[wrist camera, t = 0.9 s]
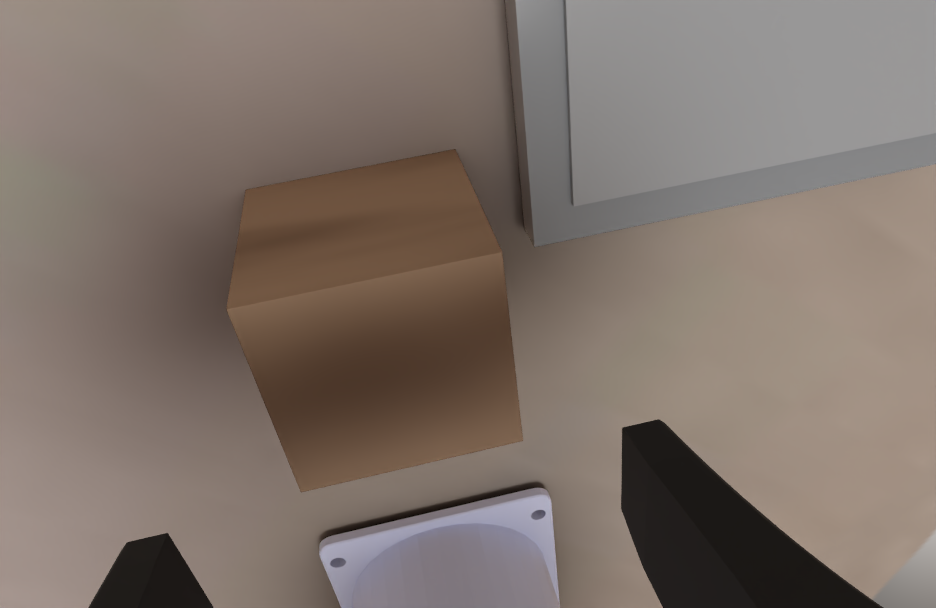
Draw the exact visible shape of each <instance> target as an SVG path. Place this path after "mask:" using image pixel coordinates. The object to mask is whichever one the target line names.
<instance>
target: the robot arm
mask: <svg viewBox="0 0 936 608" xmlns="http://www.w3.org/2000/svg"><path fill="white" fill-rule="evenodd" d="M621 509H622V512H623V515H624V517H625V520H626V523H627V526H628V528H629V531H630V534H631V537H632V539H633V542H634V545H635V547H636V550H637V552H638V555H639V558H640V560H641V563H642V565H643V568H644V570H645V572H646V574H647V576H648V578H649V580H650V582H651V584H652V586H653V588H654V590H655V592H656V594H657V596H658V598H659V600H660V602H661V604H662V606H663V608H883V607H882V606H880V605H879V604H877V603H876V602H874V601H873V600H871V599H870V598H869V597H867V596H866V595H864V594H863V593H862V592H860V591H859V590H858V589H856V588H855V587H853V586H852V585H851V584H849V583H848V582H847V581H845V580H844V579H843V578H841V577H840V576H839V575H837V574H836V573H835V572H833V571H832V570H831V569H829V568H828V567H827V566H826V565H824V564H823V563H822V562H820V561H819V560H818V559H817V558H815V557H814V556H813V555H811V554H810V553H809V552H808V551H806V550H805V549H804V548H803V547H801V546H800V545H799V544H798V543H796V542H795V541H794V540H793V539H791V538H790V537H789V536H788V535H787V534H785V533H784V532H783V531H782V530H780V529H779V528H778V527H777V526H776V525H775V524H773V523H772V522H771V521H770V520H769V519H768V518H766V517H765V516H764V515H763V514H762V513H761V512H759V511H758V510H757V509H756V508H755V507H754V506H752V505H751V504H750V503H749V502H748V501H747V500H746V499H744V498H743V497H742V496H741V495H740V494H739V493H738V492H736V491H735V490H734V489H733V488H732V487H731V486H730V485H729V484H728V483H726V482H725V481H724V480H723V479H722V478H721V477H720V476H719V475H718V474H717V473H716V472H715V471H714V470H712V469H711V468H710V467H709V466H708V465H707V464H706V463H705V462H704V461H703V460H702V459H701V458H700V457H699V456H698V455H697V454H696V453H695V452H693V451H692V450H691V449H690V448H689V447H688V446H687V445H686V444H685V443H684V442H683V441H682V440H681V439H680V438H679V437H678V436H677V435H676V434H675V433H674V432H673V431H672V430H671V429H670V428H669V427H668V426H667V425H666V424H665V423H664V422H662V421H661V420H659V419H658V420H654V421H650V422H645V423H641V424H637V425H632V426H628V427H624V428H622V495H621ZM319 554H320V558H321V561H322V563H323V565H324V568H325V570H326V573H327V575H328V577H329V580H330V582H331V585H332V587H333V589H334V592H335V594H336V597H337V599H338V601H339V604H340V606H341V608H560V603H559V590H558V578H557V566H556V553H555V541H554V529H553V517H552V504H551V499H550V496H549V494H548V491H547V490H545V489H543V488H532V489H528V490H523V491H519V492H515V493H511V494H506V495H502V496H498V497H494V498H489V499H485V500H481V501H477V502H472V503H468V504H464V505H460V506H456V507H451V508H447V509H443V510H439V511H434V512H430V513H426V514H422V515H417V516H413V517H409V518H405V519H400V520H396V521H392V522H388V523H384V524H379V525H375V526H371V527H367V528H362V529H358V530H354V531H350V532H345V533H341V534H337V535H333V536H329V537H327V538H325V539H324V540H322V541H321V543H320V545H319ZM89 608H213V606H212V604H211V603H210V601H209V599H208V598H207V596H206V594H205V593H204V591H203V590H202V588H201V586H200V585H199V583H198V581H197V580H196V578H195V577H194V575H193V573H192V572H191V570H190V568H189V567H188V565H187V564H186V562H185V560H184V559H183V557H182V555H181V554H180V552H179V551H178V549H177V547H176V546H175V544H174V542H173V541H172V539H171V538H170V536H169V534H168V533H165V534H161V535H157V536H152V537H148V538H144V539H139V540H135V541H131V542H127V543H126V545H125V546H124V547H123V549H122V551H121V552H120V554H119V556H118V557H117V559H116V561H115V563H114V564H113V566H112V568H111V569H110V571H109V573H108V575H107V576H106V578H105V580H104V582H103V583H102V585H101V587H100V589H99V590H98V592H97V594H96V596H95V597H94V599H93V601H92V602H91V604H90V606H89Z"/></svg>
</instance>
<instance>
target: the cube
mask: <svg viewBox="0 0 936 608" xmlns="http://www.w3.org/2000/svg"><path fill="white" fill-rule="evenodd" d="M226 310H227V312H228V315H229V317H230V320H231V322H232V325H233V327H234V330H235V332H236V334H237V337H238V339H239V342H240V344H241V347H242V349H243V352H244V354H245V357H246V359H247V361H248V364H249V366H250V369H251V371H252V374H253V376H254V379H255V381H256V383H257V386H258V388H259V391H260V393H261V396H262V398H263V401H264V403H265V406H266V408H267V410H268V413H269V415H270V418H271V420H272V423H273V425H274V428H275V430H276V432H277V435H278V437H279V440H280V442H281V445H282V447H283V450H284V452H285V455H286V457H287V459H288V462H289V464H290V467H291V469H292V472H293V474H294V477H295V479H296V481H297V484H298V486H299V489H300V491H301V492H305V491H309V490H313V489H318V488H322V487H326V486H331V485H335V484H339V483H343V482H348V481H352V480H356V479H361V478H365V477H369V476H374V475H378V474H382V473H387V472H391V471H395V470H399V469H404V468H408V467H412V466H417V465H421V464H425V463H430V462H434V461H438V460H443V459H447V458H451V457H455V456H460V455H464V454H468V453H473V452H477V451H481V450H486V449H490V448H494V447H499V446H503V445H507V444H511V443H516V442H520V441H523V436H522V427H521V418H520V409H519V400H518V391H517V382H516V373H515V364H514V355H513V346H512V337H511V328H510V319H509V310H508V301H507V292H506V283H505V273H504V264H503V255H502V251H501V248H500V246H499V244H498V242H497V240H496V237H495V235H494V233H493V231H492V229H491V226H490V224H489V222H488V220H487V218H486V215H485V213H484V211H483V209H482V207H481V204H480V202H479V200H478V198H477V196H476V194H475V191H474V189H473V187H472V185H471V183H470V180H469V178H468V176H467V174H466V172H465V169H464V167H463V165H462V163H461V161H460V158H459V156H458V154H457V152H456V150H455V149H453V150H448V151H443V152H438V153H432V154H427V155H422V156H417V157H412V158H407V159H401V160H396V161H391V162H386V163H381V164H376V165H371V166H365V167H360V168H355V169H350V170H345V171H340V172H334V173H329V174H324V175H319V176H314V177H309V178H304V179H298V180H293V181H288V182H283V183H278V184H273V185H268V186H262V187H257V188H252V189H247V190H246V192H245V198H244V204H243V210H242V216H241V222H240V229H239V235H238V241H237V247H236V253H235V259H234V265H233V272H232V278H231V284H230V290H229V296H228V302H227V308H226Z"/></svg>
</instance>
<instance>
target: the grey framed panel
mask: <svg viewBox="0 0 936 608" xmlns="http://www.w3.org/2000/svg"><path fill="white" fill-rule="evenodd" d="M505 8H506V19H507V31H508V43H509V54H510V66H511V77H512V89H513V101H514V112H515V124H516V136H517V147H518V159H519V171H520V182H521V194H522V206H523V217H524V228H525V230H526V232H527V234H528V236H529V238H530V240H531V242H532V243H533V245H534V247H538V246H543V245H548V244H552V243H557V242H562V241H567V240H572V239H577V238H581V237H586V236H591V235H596V234H601V233H606V232H610V231H615V230H620V229H625V228H630V227H635V226H639V225H644V224H649V223H654V222H659V221H664V220H668V219H673V218H678V217H683V216H688V215H692V214H697V213H702V212H707V211H712V210H717V209H721V208H726V207H731V206H736V205H741V204H746V203H750V202H755V201H760V200H765V199H770V198H775V197H779V196H784V195H789V194H794V193H799V192H804V191H808V190H813V189H818V188H823V187H828V186H833V185H837V184H842V183H847V182H852V181H857V180H862V179H866V178H871V177H876V176H881V175H886V174H890V173H895V172H900V171H905V170H910V169H915V168H919V167H924V166H929V165H934V164H936V0H505Z"/></svg>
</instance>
